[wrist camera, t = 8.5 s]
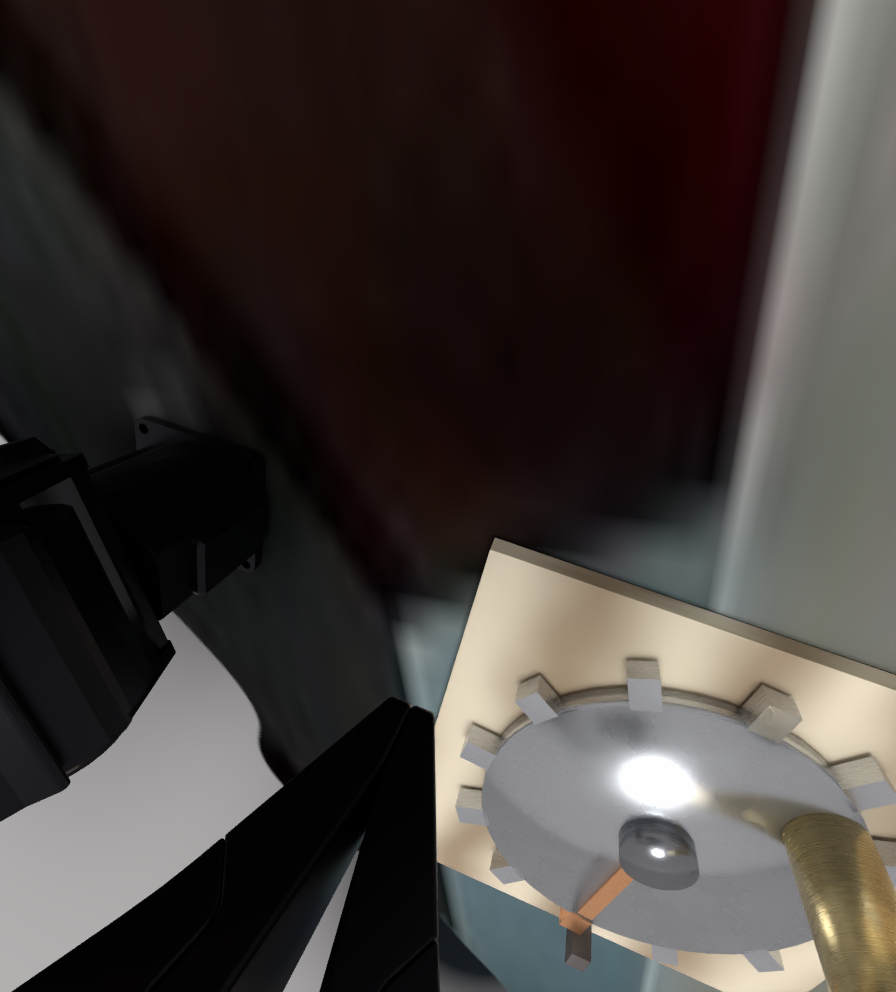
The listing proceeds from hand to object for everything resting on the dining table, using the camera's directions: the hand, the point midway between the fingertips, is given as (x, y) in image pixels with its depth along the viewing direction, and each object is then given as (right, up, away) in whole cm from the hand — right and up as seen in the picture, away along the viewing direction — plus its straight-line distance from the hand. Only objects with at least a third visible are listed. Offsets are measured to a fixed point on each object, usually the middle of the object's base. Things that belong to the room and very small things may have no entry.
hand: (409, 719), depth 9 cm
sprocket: (+10, -11, +14) cm, 21 cm away
